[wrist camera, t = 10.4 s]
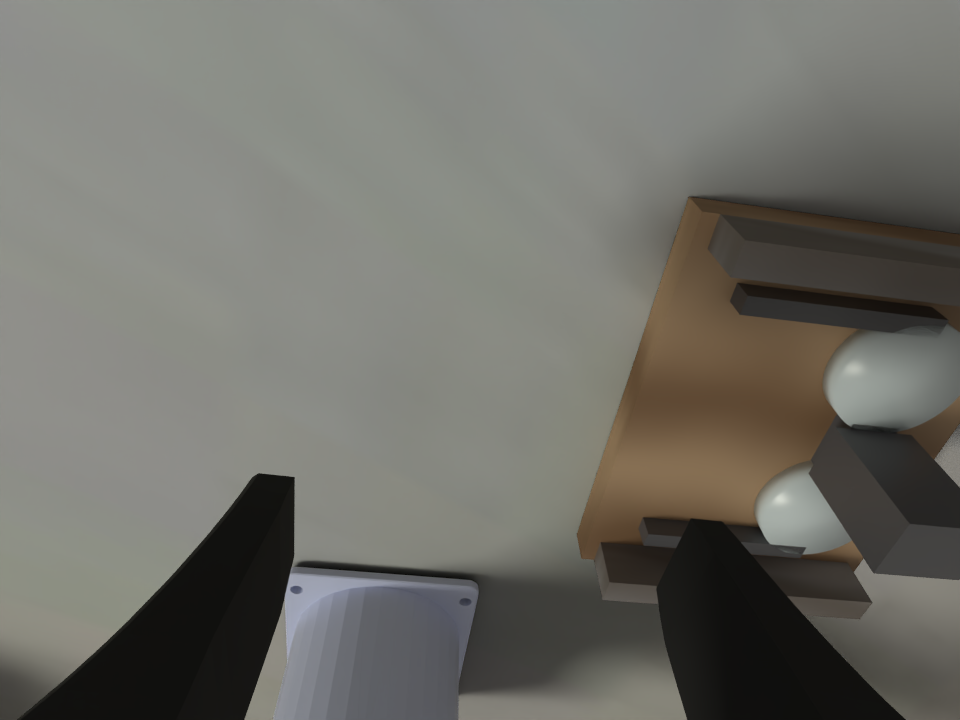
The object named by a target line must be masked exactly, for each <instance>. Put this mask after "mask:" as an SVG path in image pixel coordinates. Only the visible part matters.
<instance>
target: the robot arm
mask: <svg viewBox="0 0 960 720" xmlns="http://www.w3.org/2000/svg"><path fill="white" fill-rule="evenodd" d="M294 479H295V477H288V476H279V475H269V474H260V473H259V474H257V475H255V476H254V477H252V478H251V480H250V481H249V483H248V484H247V485H246V487H245V488H244V490H243V491H242V492H241V494H240V495H239V496H238V498H237V499H236V500H235V502H234V503H233V504H232V506H231V507H230V508H229V509H228V511H227V512H226V513H225V514H224V516H223V517H222V518H221V519H220V521H219V522H218V523H217V524H216V525H215V527H214V528H213V529H212V530H211V532H210V533H209V534H208V535H207V536H206V538H205V539H204V540H203V541H202V542H201V543H200V544H199V546H198V547H197V548H196V549H195V550H194V551H193V552H192V554H191V555H190V556H189V557H188V558H187V559H186V560H185V561H184V563H183V564H182V565H181V566H180V567H179V568H178V569H177V571H176V572H175V573H174V574H173V575H172V576H171V577H170V578H169V579H168V580H167V581H166V582H165V583H164V585H163V586H162V587H161V588H160V589H159V590H158V591H157V592H156V593H155V594H154V595H153V596H152V597H151V598H150V599H149V600H148V601H147V602H146V603H145V604H144V605H143V606H142V607H141V608H140V609H139V610H138V611H137V612H136V613H135V614H134V615H133V616H132V618H131V619H130V620H129V621H128V622H126V623H125V624H124V625H123V626H122V627H121V628H120V629H119V630H118V631H117V632H116V633H115V634H114V635H113V636H112V637H111V638H110V639H109V640H108V641H107V642H106V643H105V644H104V645H102V646H101V647H100V648H99V649H98V650H97V651H96V652H95V653H94V654H93V655H92V656H91V657H89V658H88V659H87V660H86V661H85V662H84V663H83V664H82V665H81V666H79V667H78V668H77V669H76V670H75V671H74V672H73V673H72V674H71V675H69V676H68V677H67V678H66V679H65V680H64V681H63V682H61V683H60V684H59V685H58V686H57V687H56V688H54V689H53V690H52V691H51V692H50V693H48V694H47V695H46V696H45V697H44V698H42V699H41V700H40V701H39V702H38V703H37V704H35V705H34V706H33V707H32V708H31V709H29V710H28V711H27V712H26V713H25V714H24V715H22V716H21V717H20V718H19V719H18V720H244V719H245V716H246V713H247V710H248V707H249V704H250V701H251V698H252V696H253V693H254V690H255V687H256V684H257V681H258V678H259V675H260V672H261V670H262V667H263V664H264V661H265V658H266V655H267V652H268V649H269V646H270V643H271V640H272V637H273V635H274V632H275V629H276V626H277V623H278V620H279V617H280V614H281V610H282V606H283V602H284V598H285V614H286V639H287V665H286V669H285V673H284V677H283V681H282V685H281V689H280V693H279V697H278V701H277V705H276V709H275V713H274V717H273V720H458V696H459V680H460V675H461V671H462V666H463V662H464V657H465V653H466V648H467V644H468V640H469V635H470V631H471V626H472V622H473V617H474V613H475V608H476V604H477V599H478V595H479V590H478V585H477V583H476V582H474V581H472V580H465V579H451V578H438V577H425V576H412V575H399V574H386V573H373V572H360V571H346V570H333V569H320V568H307V567H293V568H291V567H292V563H293V558H294ZM656 591H657V598H658V604H659V611H660V618H661V623H662V629H663V634H664V640H665V645H666V648H667V652H668V656H669V659H670V663H671V666H672V669H673V673H674V676H675V680H676V683H677V687H678V690H679V693H680V697H681V700H682V703H683V707H684V710H685V713H686V717H687V720H905V719H904V718H903V717H902V716H901V715H900V714H899V713H898V712H897V711H896V710H895V709H894V708H893V707H891V706H890V705H889V704H888V703H887V702H886V701H885V700H884V699H883V698H882V697H881V696H880V695H879V694H878V693H877V692H876V691H875V690H874V689H873V688H872V687H871V686H870V685H869V684H868V683H867V682H866V681H865V680H864V679H863V678H862V677H861V676H860V675H859V674H858V673H857V672H856V671H855V670H854V669H853V667H852V666H851V665H850V664H849V663H848V662H847V661H846V660H845V659H844V658H843V657H842V656H841V655H840V654H839V653H838V652H837V651H836V650H835V649H834V648H833V647H832V646H831V644H830V643H829V642H828V641H827V640H826V639H825V638H824V637H823V636H822V635H821V634H820V633H819V631H818V630H817V629H816V628H815V627H814V626H813V625H812V624H811V623H810V622H809V620H808V619H807V618H806V617H805V616H804V615H803V614H802V613H801V611H800V610H799V609H798V608H797V607H796V606H795V605H794V604H793V602H792V601H791V600H790V599H789V598H788V597H787V596H786V594H785V593H784V592H783V591H782V590H781V589H780V587H779V586H778V585H777V584H776V583H775V582H774V580H773V579H772V578H771V577H770V576H769V575H768V573H767V572H766V571H765V570H764V569H763V568H762V566H761V565H760V564H759V563H758V562H757V561H756V559H755V558H754V557H753V556H752V555H751V554H750V552H749V551H748V550H747V549H746V548H745V547H744V545H743V544H742V543H741V542H740V541H739V540H738V539H737V537H736V536H735V535H734V534H733V533H732V532H731V531H730V529H729V528H728V527H727V526H726V525H725V524H724V523H723V522H722V521H713V520H703V519H694V518H691V519H690V521H689V523H688V525H687V527H686V529H685V531H684V533H683V535H682V537H681V539H680V541H679V543H678V545H677V547H676V549H675V551H674V553H673V555H672V557H671V559H670V561H669V563H668V566H667V568H666V570H665V572H664V574H663V576H662V578H661V580H660V582H659V584H658V586H657V588H656Z"/></svg>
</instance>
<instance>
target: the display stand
mask: <svg viewBox="0 0 960 720" xmlns="http://www.w3.org/2000/svg"><path fill="white" fill-rule="evenodd" d="M737 283H743V284H751V285H759V286H767V287H775V288H783V289H791V290H799V291H807V292H815V293H824V294H832V295H840V296H848V297H856V298H864V299H872V300H880V301H888V302H896V303H904V304H912V305H920V306H929V307H932V308H934V309H935V310H936V311H938V312H939V313H940V314H942V315H943V316H944V317H945V318H947V319H948V320H949V321H948V324H949V325H951V326H952V327H953V328H955V329H956V330H957V331H958V332H960V234H954V233H947V232H939V231H932V230H925V229H918V228H911V227H903V226H896V225H889V224H882V223H875V222H867V221H860V220H853V219H846V218H839V217H831V216H824V215H817V214H810V213H802V212H795V211H788V210H781V209H774V208H766V207H759V206H752V205H745V204H738V203H730V202H723V201H716V200H709V199H702V198H694V197H689V198H688V201H687V204H686V207H685V210H684V213H683V216H682V219H681V222H680V225H679V228H678V231H677V234H676V237H675V240H674V243H673V246H672V249H671V252H670V255H669V258H668V261H667V264H666V267H665V270H664V273H663V276H662V279H661V282H660V285H659V288H658V291H657V294H656V297H655V300H654V303H653V306H652V309H651V312H650V315H649V318H648V321H647V324H646V327H645V330H644V333H643V336H642V339H641V342H640V345H639V349H638V352H637V355H636V358H635V361H634V364H633V367H632V370H631V373H630V376H629V379H628V382H627V385H626V388H625V391H624V394H623V397H622V400H621V403H620V406H619V409H618V412H617V415H616V418H615V421H614V424H613V427H612V430H611V433H610V436H609V439H608V442H607V445H606V448H605V451H604V454H603V457H602V460H601V463H600V466H599V469H598V472H597V475H596V478H595V481H594V484H593V487H592V490H591V493H590V496H589V499H588V502H587V505H586V508H585V511H584V514H583V517H582V520H581V523H580V527H579V530H578V533H577V538H578V543H579V548H580V553H581V559H592V560H594V562H595V566H596V571H597V576H598V581H599V585H600V590H601V595H602V600H610V601H623V602H636V603H650V604H658V598H657V591H656V588H657V586H658V584H659V582H660V580H661V578H662V576H663V574H664V572H665V570H666V568H667V566H668V563H669V561H670V559H671V557H672V555H673V553H674V551H675V549H676V548H669V547H656V546H644V545H643V542H642V539H641V535H640V532H639V529H638V528H639V526H640V523H641V521H642V518H643V517H647V518H658V519H670V520H682V521H690V519H691V518H694V519H703V520H713V521H722V522H723V523H724V524H728V525H740V526H751V527H759V525H758V523H757V521H756V519H755V516H754V504H755V500H756V498H757V495H758V494H759V492H760V490H761V489H762V488H763V487H764V485H765V484H766V483H767V482H768V481H769V480H770V479H772V478H773V477H774V476H775V475H777V474H778V473H780V472H781V471H783V470H785V469H787V468H789V467H791V466H793V465H796V464H799V463H802V462H805V461H809V460H811V459H812V457H813V455H814V453H815V452H816V450H817V448H818V446H819V445H820V443H821V441H822V439H823V438H824V436H825V434H826V432H827V431H828V429H829V427H830V425H831V424H832V422H833V420H834V418H835V416H836V415H837V413H836V411H835V410H834V409H833V408H832V406H831V405H830V404H829V402H828V401H827V400H826V397H825V395H824V392H823V384H822V381H823V374H824V371H825V368H826V365H827V363H828V361H829V359H830V358H831V356H832V354H833V353H834V352H835V350H836V349H837V348H838V347H839V346H840V345H841V344H842V343H843V341H844V340H846V339H847V338H848V337H849V336H850V335H851V334H853V333H854V332H856V331H857V330H858V329H855V328H847V327H838V326H830V325H821V324H813V323H804V322H796V321H788V320H779V319H771V318H762V317H754V316H746V315H740V314H739V313H738V312H737V310H736V309H735V308H734V306H733V305H732V304H731V302H730V299H731V297H732V294H733V292H734V289H735V287H736V284H737ZM959 424H960V396H959V397H958V398H957V399H956V400H955V401H954V402H953V403H952V404H951V405H950V406H949V407H948V408H946V409H945V410H944V411H943V412H941V413H940V414H938V415H937V416H935V417H934V418H932V419H930V420H928V421H926V422H925V423H923V424H920V425H918V426H916V427H913V428H910V429H907V430H903V431H899V432H897V434H907V435H912V436H913V437H914V438H915V440H916V441H917V442H918V443H919V444H920V445H921V446H922V447H923V448H924V449H925V450H926V452H927V453H928V454H929V455H930V456H931V457H932V458H933V459H935V457H936V456H937V454H938V453H939V452H940V450H941V449H942V447H943V446H944V445H945V443H946V442H947V440H948V439H949V438H950V436H951V435H952V433H953V432H954V431H955V429H956V428H957V426H958V425H959ZM751 555H752V556H753V557H754V558H755V559H756V561H757V562H758V563H759V564H760V565H761V566H762V568H763V569H764V570H765V571H766V572H767V573H768V575H769V576H770V577H771V578H772V579H773V580H774V582H775V583H776V584H777V585H778V586H779V587H780V589H781V590H782V591H783V592H784V593H785V594H786V596H787V597H788V598H789V599H790V600H791V601H792V602H793V604H794V605H795V606H796V607H797V608H798V609H799V610H800V611H801V613H802V614H803V615H811V616H824V617H837V618H851V619H860V618H861V617H862V615H863V614H864V613H865V612H866V610H867V609H868V608H869V606H870V605H871V604H872V601H871V600H870V598H869V597H868V595H867V593H866V592H865V590H864V589H863V587H862V585H861V584H860V582H859V581H858V579H857V577H856V576H855V574H854V571H855V569H856V568H857V567H858V565H859V564H860V562H861V561H862V560H863V556H862V555H861V553H860V552H859V550H858V549H857V547H856V546H855V544H854V543H853V541H850V542H849V543H847V544H845V545H842V546H840V547H838V548H835V549H832V550H829V551H826V552H821V553H815V554H802V556H801V557H800V558H791V557H779V556H767V555H754V554H751Z"/></svg>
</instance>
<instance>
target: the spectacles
mask: <svg viewBox="0 0 960 720" xmlns="http://www.w3.org/2000/svg"><path fill="white" fill-rule="evenodd" d="M730 302H731V304H732V305H733V306H734V308H735V309H736V310H737V312H738V313H739V314H740V315H746V316H754V317H762V318H771V319H779V320H788V321H796V322H804V323H813V324H821V325H830V326H838V327H847V328H855V329H858V330H857V331H856V332H854V333H853V334H851V335H850V336H849V337H848V338H847V339H846V340H844V341H843V343H842V344H841V345H840V346H839V347H838V348H837V349H836V350H835V352H834V353H833V354H832V356H831V358H830V359H829V361H828V363H827V365H826V368H825V371H824V374H823V381H822V384H823V392H824V395H825V397H826V400H827V401H828V402H829V404H830V405H831V406H832V408H833V409H834V410H835V411H836V413H837V415H836V416H835V418H834V420H833V422H832V424H831V425H830V427H829V429H828V431H827V432H826V434H825V436H824V438H823V439H822V441H821V443H820V445H819V446H818V448H817V450H816V452H815V453H814V455H813V457H812V459H811V460H809V461H805V462H802V463H799V464H796V465H793V466H791V467H789V468H787V469H785V470H783V471H781V472H780V473H778V474H777V475H775V476H774V477H773V478H772V479H770V480H769V481H768V482H767V483H766V484H765V485H764V487H763V488H762V489H761V490H760V492H759V494H758V495H757V498H756V500H755V504H754V516H755V519H756V521H757V523H758V525H759V527H751V526H740V525H728V524H725V525H726V526H727V527H728V528H729V529H730V531H731V532H732V533H733V534H734V535H735V536H736V537H737V539H738V540H739V541H740V542H741V543H742V544H743V545H744V547H745V548H746V549H747V550H748V551H749V552H750V554H754V555H767V556H779V557H791V558H800V557H801V556H802V554H815V553H821V552H826V551H829V550H832V549H835V548H838V547H840V546H842V545H845V544H847V543H849V542H850V541H853V543H854V544H855V546H856V547H857V549H858V550H859V552H860V553H861V555H862V556H863V558H864V559H865V561H866V562H867V564H868V566H869V567H870V569H871V570H872V572H873V573H877V574H889V575H902V576H914V577H926V578H939V579H951V580H959V579H960V488H959V487H958V485H957V484H956V483H955V482H954V481H953V480H952V479H951V478H950V477H949V476H948V474H947V473H946V472H945V471H944V470H943V469H942V468H941V467H940V466H939V465H938V464H937V462H936V461H935V460H934V459H933V458H932V457H931V456H930V455H929V454H928V453H927V452H926V450H925V449H924V448H923V447H922V446H921V445H920V444H919V443H918V442H917V441H916V440H915V438H914V437H913V436H912V435H907V434H897V432H899V431H903V430H907V429H910V428H913V427H916V426H918V425H920V424H923V423H925V422H926V421H928V420H930V419H932V418H934V417H935V416H937V415H938V414H940V413H941V412H943V411H944V410H945V409H946V408H948V407H949V406H950V405H951V404H952V403H953V402H954V401H955V400H956V399H957V398H958V397H959V396H960V332H958V331H957V330H956V329H955V328H953V327H952V326H951V325H949V324H948V321H949V320H948V319H947V318H945V317H944V316H943V315H942V314H940V313H939V312H938V311H936V310H935V309H934V308H932V307H929V306H920V305H912V304H904V303H896V302H888V301H880V300H872V299H864V298H856V297H848V296H840V295H832V294H824V293H815V292H807V291H799V290H791V289H783V288H775V287H767V286H759V285H751V284H743V283H737V284H736V287H735V289H734V292H733V294H732V297H731V299H730ZM688 523H689V521H682V520H670V519H658V518H647V517H643V518H642V521H641V523H640V526H639V528H638V529H639V532H640V535H641V539H642V542H643V545H644V546H656V547H669V548H676V547H677V545H678V543H679V541H680V539H681V537H682V535H683V533H684V531H685V529H686V527H687V525H688Z"/></svg>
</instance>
